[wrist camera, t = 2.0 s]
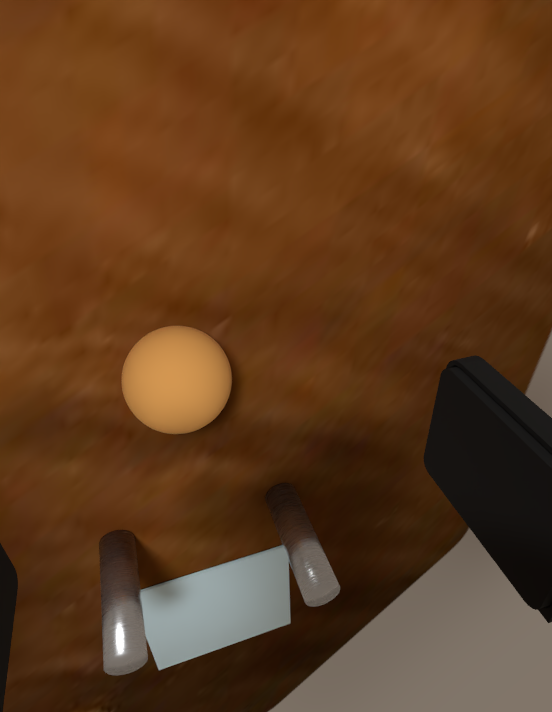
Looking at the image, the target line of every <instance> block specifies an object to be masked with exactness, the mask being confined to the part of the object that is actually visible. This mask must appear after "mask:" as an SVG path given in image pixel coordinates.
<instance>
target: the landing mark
mask: <svg viewBox="0 0 552 712" xmlns="http://www.w3.org/2000/svg"><path fill="white" fill-rule="evenodd" d="M141 599H142V609H143V618H144V627H145V635H146V638H147V640H148V643H149V646H150V648H151V651H152V653H153V656H154V659H155V661H156V664H157V667H158V669H159V670H161V669H164V668H167V667H170V666H172V665H175V664H178V663H181V662H184V661H186V660H189V659H192V658H195V657H198V656H200V655H203V654H206V653H209V652H212V651H214V650H217V649H220V648H223V647H226V646H228V645H231V644H234V643H237V642H240V641H242V640H245V639H248V638H251V637H254V636H257V635H259V634H262V633H265V632H268V631H271V630H273V629H276V628H279V627H282V626H285V625H287V624H290V623H291V619H290V589H289V560H288V557H287V555H286V552H285V549H284V547H283V545H281V546H278V547H275V548H272V549H269V550H265V551H262V552H259V553H256V554H253V555H250V556H246V557H243V558H240V559H237V560H234V561H231V562H227V563H224V564H221V565H218V566H215V567H211V568H208V569H205V570H202V571H199V572H196V573H192V574H189V575H186V576H183V577H180V578H177V579H173V580H170V581H167V582H164V583H161V584H158V585H154V586H151V587H148V588H145V589H142V590H141Z"/></svg>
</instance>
